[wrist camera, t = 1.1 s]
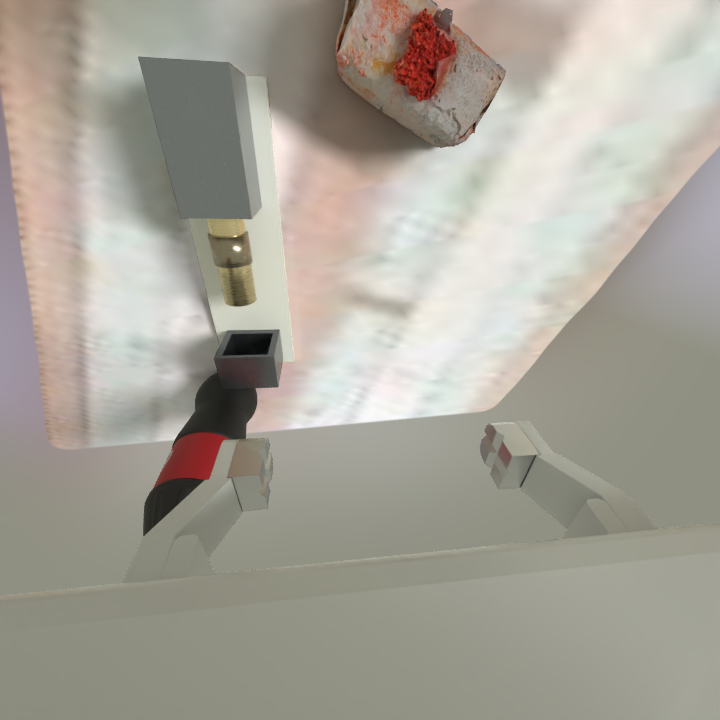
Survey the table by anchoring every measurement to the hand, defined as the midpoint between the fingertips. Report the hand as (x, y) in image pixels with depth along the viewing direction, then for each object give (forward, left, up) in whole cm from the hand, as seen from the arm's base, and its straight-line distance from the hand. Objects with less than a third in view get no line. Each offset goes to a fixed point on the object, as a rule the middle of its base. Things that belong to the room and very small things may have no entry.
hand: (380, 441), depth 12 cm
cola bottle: (+24, -17, -33) cm, 44 cm away
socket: (+15, -12, -32) cm, 37 cm away
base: (+2, -12, -33) cm, 35 cm away
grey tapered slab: (-8, -12, -32) cm, 35 cm away
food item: (-14, +6, -33) cm, 36 cm away
